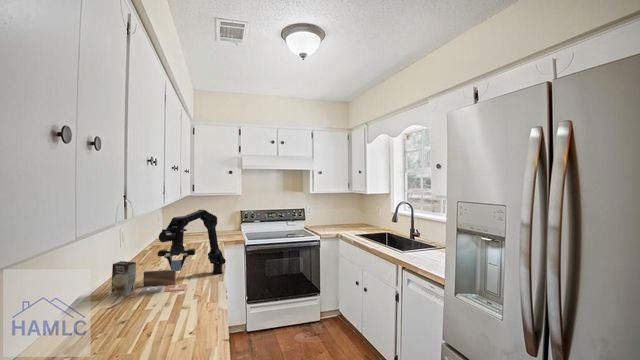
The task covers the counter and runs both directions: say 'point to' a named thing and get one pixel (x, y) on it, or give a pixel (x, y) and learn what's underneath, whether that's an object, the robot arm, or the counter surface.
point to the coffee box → (123, 278)
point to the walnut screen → (159, 278)
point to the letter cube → (176, 265)
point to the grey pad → (151, 289)
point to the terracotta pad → (176, 287)
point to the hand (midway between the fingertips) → (176, 267)
